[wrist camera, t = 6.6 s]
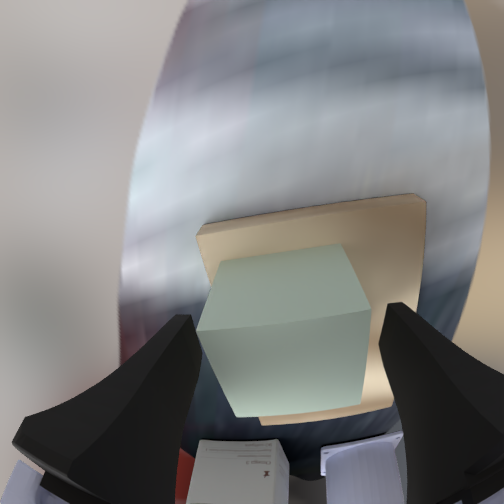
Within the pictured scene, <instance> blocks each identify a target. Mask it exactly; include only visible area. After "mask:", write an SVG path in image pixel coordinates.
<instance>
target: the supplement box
mask: <svg viewBox="0 0 504 504" xmlns="http://www.w3.org/2000/svg"><path fill="white" fill-rule="evenodd" d="M288 487H289V462H288V460H287V458H286V455H285V453H284V451H283V449H282V446H281V444H280V442H279V440H278V439H274V440H267V441H211V440H200V442H199V446H198V450H197V455H196V460H195V464H194V469H193V474H192V478H191V483H190V487H189V492H188V497H187V502H186V504H288V490H289V488H288Z"/></svg>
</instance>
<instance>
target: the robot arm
mask: <svg viewBox="0 0 504 504" xmlns="http://www.w3.org/2000/svg"><path fill="white" fill-rule="evenodd" d="M378 345H379V349H380V354H381V359H382V363H383V367H384V370H385V373H386V376H387V379H388V381H389V384H390V387H391V390H392V393H393V396H394V399H395V402H396V405H397V408H398V411H399V415H400V419H401V423H402V429H403V430H400V431H396V432H393V433H389V434H385V435H381V436H377V437H373V438H368V439H364V440H359V441H354V442H348V443H343V444H337V445H330V446H324V447H322V448H321V475H326V488H327V504H404V498H403V492H402V486H401V480H400V475H399V470H398V465H397V459H396V455H395V449H396V447H397V445H398V443H399V442H400V440H401V438H402V437H403V435H404V441H405V450H406V460H407V482H408V483H407V504H504V374H502V373H500V372H498V371H496V370H494V369H492V368H490V367H488V366H487V365H485V364H483V363H482V362H480V361H478V360H477V359H475V358H474V357H472V356H471V355H469V354H468V353H466V352H465V351H463V350H462V349H461V348H459V347H458V346H456V345H455V344H454V343H452V342H451V341H450V340H449V339H447V338H446V337H445V336H443V335H442V334H441V333H440V332H439V331H437V330H436V329H435V328H434V327H432V326H431V325H430V324H429V323H428V322H426V321H425V320H424V319H423V318H422V317H420V316H419V315H418V314H417V313H416V312H414V311H413V310H412V309H411V308H410V307H408V306H407V305H406V304H404V303H403V302H395V303H387V308H386V313H385V317H384V322H383V326H382V330H381V335H380V339H379V343H378ZM201 359H202V350H201V347H200V344H199V341H198V337H197V334H196V331H195V327H194V324H193V320H192V317H191V315H175V316H174V317H173V318H171V319H170V320H169V321H168V322H167V323H166V324H165V325H164V326H163V327H162V328H161V329H160V330H159V331H158V332H157V333H156V334H155V335H154V336H153V337H152V338H151V339H150V340H149V341H148V342H147V343H146V344H145V345H144V346H143V347H142V348H141V349H140V350H139V351H137V352H136V353H135V354H134V355H133V356H132V357H131V358H129V359H128V360H127V361H126V362H125V363H124V364H123V365H121V366H120V367H119V368H118V369H116V370H115V371H114V372H113V373H111V374H110V375H109V376H107V377H106V378H104V379H103V380H102V381H100V382H99V383H97V384H96V385H94V386H92V387H91V388H89V389H88V390H86V391H84V392H83V393H81V394H79V395H78V396H76V397H74V398H72V399H70V400H68V401H66V402H64V403H62V404H60V405H57V406H55V407H53V408H50V409H48V410H45V411H42V412H39V413H36V414H33V415H31V416H27V417H25V418H24V420H23V422H22V424H21V426H20V427H19V429H18V431H17V433H16V435H15V437H14V439H13V441H12V444H13V446H14V447H15V448H17V449H18V450H19V451H20V452H21V453H22V454H24V455H25V456H26V457H27V458H29V459H30V460H31V461H33V462H34V463H35V464H37V465H38V466H39V467H41V468H42V469H43V470H45V473H44V475H41V474H40V473H39V472H37V471H36V470H34V469H32V468H31V467H30V466H28V465H27V464H25V463H24V462H22V461H21V460H18V461H17V463H16V465H15V467H14V470H13V472H12V474H11V476H10V479H9V481H8V483H7V486H6V488H5V491H4V493H3V496H2V498H1V501H0V502H1V504H175V487H176V474H177V465H178V458H179V449H180V444H181V438H182V432H183V428H184V424H185V420H186V417H187V414H188V410H189V407H190V404H191V401H192V397H193V394H194V391H195V387H196V384H197V381H198V377H199V372H200V366H201Z"/></svg>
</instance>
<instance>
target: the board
mask: <svg viewBox="0 0 504 504" xmlns="http://www.w3.org/2000/svg"><path fill="white" fill-rule="evenodd" d="M425 230H426V201H424V200H423V199H421V198H420V197H418V196H416V195H415V194H404V195H395V196H387V197H379V198H371V199H363V200H355V201H348V202H340V203H333V204H326V205H319V206H312V207H306V208H299V209H293V210H286V211H280V212H274V213H268V214H262V215H256V216H250V217H244V218H238V219H232V220H227V221H221V222H216V223H210V224H205V225H202V227H201V228H200V230H199V232H198V233H197V235H196V239H197V243H198V246H199V249H200V253H201V256H202V259H203V262H204V266H205V269H206V272H207V275H208V278H209V281H210V284H211V287H212V284H213V281H214V278H215V275H216V273H217V270H218V267H219V264H220V262H221V261H225V260H232V259H239V258H245V257H252V256H259V255H265V254H272V253H279V252H285V251H292V250H299V249H305V248H312V247H319V246H325V245H332V244H338V243H341V245H342V247H343V249H344V251H345V253H346V255H347V257H348V259H349V261H350V263H351V265H352V267H353V269H354V272H355V274H356V276H357V278H358V280H359V282H360V284H361V287H362V289H363V291H364V293H365V295H366V298H367V300H368V302H369V304H370V307H371V324H370V335H369V346H368V355H367V363H366V371H365V378H364V384H363V391H362V397H361V403H360V404H358V405H353V406H348V407H342V408H336V409H330V410H323V411H316V412H308V413H299V414H288V415H276V416H258V417H259V419H260V422H261V424H262V425H278V424H291V423H301V422H310V421H318V420H325V419H332V418H338V417H344V416H350V415H355V414H360V413H365V412H370V411H374V410H378V409H383V408H387V407H391V406H392V403H393V400H394V396H393V393H392V390H391V387H390V384H389V381H388V379H387V376H386V373H385V370H384V367H383V363H382V359H381V354H380V349H379V345H378V343H379V339H380V335H381V330H382V326H383V322H384V317H385V313H386V308H387V303H395V302H403V303H404V304H406V305H407V306H408V307H410V308H411V309H412V310H413V311H414V312H416V310H417V304H418V298H419V291H420V284H421V276H422V268H423V258H424V246H425Z"/></svg>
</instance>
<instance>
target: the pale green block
mask: <svg viewBox="0 0 504 504" xmlns="http://www.w3.org/2000/svg"><path fill="white" fill-rule="evenodd" d="M370 324H371V307H370V304H369V302H368V300H367V298H366V295H365V293H364V291H363V289H362V287H361V284H360V282H359V280H358V278H357V276H356V274H355V272H354V269H353V267H352V265H351V263H350V261H349V259H348V257H347V255H346V253H345V251H344V249H343V247H342V245H341V243H338V244H332V245H325V246H319V247H312V248H305V249H299V250H292V251H285V252H279V253H272V254H265V255H259V256H252V257H245V258H239V259H232V260H225V261H221V262H220V264H219V267H218V270H217V273H216V275H215V278H214V281H213V284H212V287H211V289H210V292H209V295H208V298H207V301H206V304H205V306H204V309H203V312H202V315H201V318H200V321H199V324H198V327H197V329H196V332H197V335H198V337H199V339H200V342H201V344H202V346H203V349H204V351H205V353H206V355H207V357H208V360H209V362H210V364H211V366H212V368H213V370H214V373H215V375H216V377H217V379H218V381H219V383H220V385H221V387H222V389H223V391H224V393H225V395H226V397H227V399H228V401H229V403H230V405H231V407H232V409H233V411H234V413H235V415H236V417H258V416H276V415H288V414H299V413H308V412H316V411H323V410H330V409H336V408H342V407H348V406H353V405H358V404H360V403H361V397H362V391H363V384H364V378H365V371H366V363H367V355H368V346H369V335H370Z"/></svg>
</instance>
